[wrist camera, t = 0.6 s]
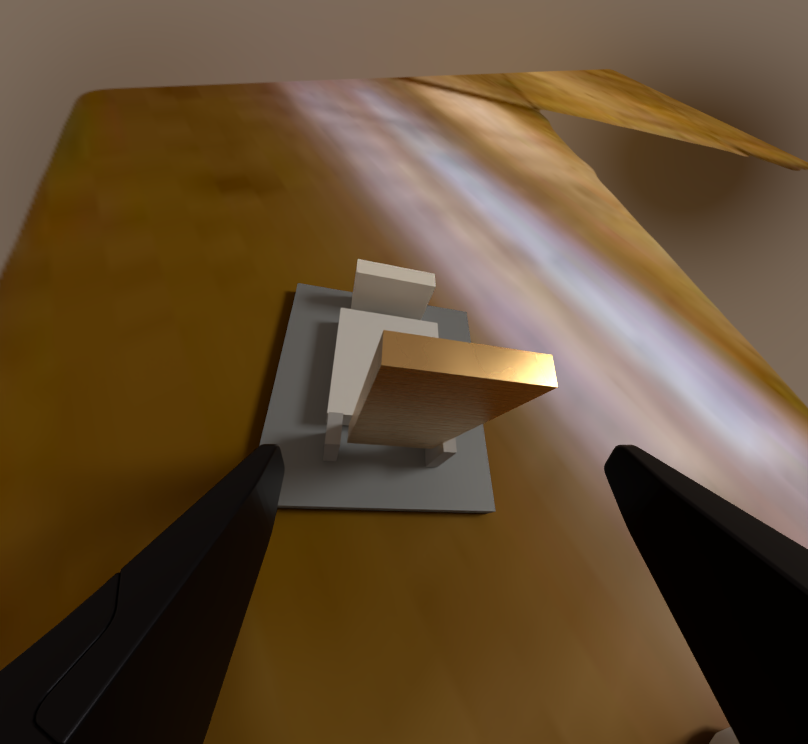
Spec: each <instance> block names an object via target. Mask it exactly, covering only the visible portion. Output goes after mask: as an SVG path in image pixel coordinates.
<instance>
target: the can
mask: <svg viewBox="0 0 808 744" xmlns="http://www.w3.org/2000/svg"><path fill="white" fill-rule="evenodd" d="M709 744H739V742H738V740H737V738H736V736H735V734H734V732H733V730H732V728H731V727H729V728H727V729H724V730H722V731H719V732H717V733H716V734H715V735H714V737H713V738H712V740H711V741H710V743H709Z"/></svg>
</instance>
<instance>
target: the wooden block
mask: <svg viewBox="0 0 808 744" xmlns="http://www.w3.org/2000/svg"><path fill="white" fill-rule="evenodd" d="M557 387H558V385H557V380H556V374H555V369H554V363H553V358H552V355H548V354H542V353H535V352H528V351H522V350H515V349H508V348H502V347H495V346H488V345H482V344H475V343H468V342H462V341H455V340H448V339H442V338H435V337H428V336H422V335H415V334H408V333H401V332H395V331H388V330H383V333H382V335H381V338H380V341H379V344H378V346H377V349H376V352H375V355H374V357H373V360H372V363H371V365H370V368H369V371H368V374H367V376H366V379H365V382H364V385H363V387H362V390H361V393H360V396H359V398H358V401H357V404H356V407H355V409H354V412H353V415H352V418H351V420H350V423H349V427H348V438H347V443H356V444H370V445H384V446H399V447H413V448H427V449H432V448H434V447H437V446H439V445H441V444H443V443H445V442H447V441H449V440H451V439H453V438H455V437H457V436H459V435H461V434H463V433H465V432H467V431H469V430H471V429H473V428H475V427H477V426H479V425H481V424H484V423H486V422H488V421H490V420H492V419H494V418H496V417H498V416H500V415H502V414H504V413H506V412H508V411H510V410H512V409H514V408H516V407H518V406H520V405H522V404H524V403H526V402H528V401H531V400H533V399H535V398H537V397H539V396H541V395H543V394H545V393H547V392H549V391H551V390H553V389H555V388H557Z"/></svg>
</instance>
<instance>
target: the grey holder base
mask: <svg viewBox="0 0 808 744" xmlns="http://www.w3.org/2000/svg"><path fill="white" fill-rule="evenodd" d="M435 287H436V284H435V274H432V273H427V272H422V271H417V270H412V269H407V268H402V267H397V266H391V265H386V264H381V263H376V262H371V261H366V260H361V259H358V261H357V268H356V275H355V282H354V288H353V292H347V291H341V290H335V289H329V288H323V287H318V286H312V285H306V284H300V283H298V285H297V289H296V294H295V298H294V302H293V306H292V310H291V315H290V319H289V323H288V327H287V332H286V336H285V340H284V344H283V348H282V353H281V357H280V361H279V365H278V369H277V374H276V378H275V382H274V386H273V391H272V395H271V399H270V403H269V407H268V412H267V416H266V420H265V424H264V429H263V433H262V437H261V441H260V445H262V444H278V445H279V446H280V449H281V453H282V457H283V461H284V465H285V472H284V478H283V483H282V487H281V492H280V497H279V502H278V506H277V508H301V509H341V510H380V511H419V512H458V513H491V512H495V505H494V498H493V491H492V484H491V477H490V470H489V464H488V457H487V450H486V443H485V436H484V429H483V424H481V425H479V426H477V427H475V428H473V429H471V430H469V431H467V432H465V433H463V434H461V435H459V436H457V437H455V438H453V439H451V440H449V441H447V442H445V443H443V444H441V445H439V446H437V447H434V448H432V449H427V448H413V447H399V446H384V445H370V444H356V443H347V438H348V427H349V423H350V420H351V418H352V415H353V412H354V409H355V407H356V404H357V401H358V398H359V396H360V393H361V390H362V387H363V385H364V382H365V379H366V376H367V374H368V371H369V368H370V365H371V363H372V360H373V357H374V355H375V352H376V349H377V346H378V344H379V341H380V338H381V335H382V333H383V330H388V331H395V332H401V333H408V334H415V335H422V336H428V337H435V338H442V339H448V340H455V341H462V342H468V343H471V340H470V333H469V326H468V319H467V312H463V311H457V310H452V309H446V308H440V307H434V306H428V303H429V301H430V298H431V296H432V294H433V292H434V289H435ZM260 445H259V446H260Z"/></svg>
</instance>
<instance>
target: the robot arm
mask: <svg viewBox="0 0 808 744" xmlns="http://www.w3.org/2000/svg"><path fill="white" fill-rule="evenodd" d="M604 471H605V475H606V477H607V480H608V482H609V484H610V487H611V489H612V492H613V494H614V497H615V499H616V502H617V504H618V507H619V509H620V511H621V514H622V516H623V519H624V521H625V523H626V526H627V528H628V530H629V532H630V534H631V536H632V538H633V540H634V542H635V544H636V546H637V548H638V550H639V552H640V553H641V555H642V557H643V559H644V561H645V563H646V565H647V567H648V569H649V571H650V573H651V575H652V577H653V578H654V580H655V582H656V584H657V586H658V588H659V590H660V592H661V594H662V596H663V598H664V600H665V602H666V603H667V605H668V607H669V609H670V611H671V613H672V615H673V617H674V619H675V621H676V623H677V625H678V626H679V628H680V630H681V632H682V634H683V636H684V638H685V640H686V642H687V644H688V646H689V648H690V650H691V651H692V653H693V655H694V657H695V659H696V661H697V663H698V665H699V667H700V669H701V671H702V673H703V675H704V676H705V678H706V680H707V682H708V684H709V686H710V688H711V690H712V692H713V694H714V696H715V698H716V700H717V701H718V703H719V705H720V707H721V709H722V711H723V713H724V715H725V717H726V719H727V721H728V723H729V725H730V726H731V728H732V730H733V732H734V734H735V736H736V738H737V740H738V742H739V744H808V549H806V548H805V547H803V546H801V545H800V544H798V543H796V542H795V541H793V540H791V539H790V538H788V537H786V536H785V535H783V534H781V533H780V532H778V531H776V530H775V529H773V528H771V527H770V526H768V525H766V524H765V523H763V522H761V521H760V520H758V519H756V518H755V517H753V516H751V515H750V514H748V513H746V512H745V511H743V510H741V509H740V508H738V507H736V506H735V505H733V504H731V503H730V502H728V501H726V500H725V499H723V498H721V497H720V496H718V495H717V494H715V493H713V492H712V491H710V490H708V489H707V488H705V487H703V486H702V485H700V484H698V483H697V482H695V481H693V480H692V479H690V478H688V477H687V476H685V475H683V474H682V473H680V472H678V471H677V470H675V469H673V468H672V467H670V466H668V465H667V464H665V463H663V462H662V461H660V460H658V459H657V458H655V457H653V456H652V455H650V454H648V453H647V452H645V451H643V450H642V449H640V448H638V447H637V446H634V445H618V446H616V447H615V448H614V450H613V451H612V453H611V455H610V456H609V458H608V460H607V461H606V463H605V466H604ZM284 472H285V465H284V461H283V457H282V453H281V449H280V446H279V445H278V444H262V445H260V446H259V447H258V448H257V449H255V450H254V451H253V452H252V453H251V454H250V455H249V456H248V457H246V458H245V459H244V460H243V461H242V462H241V463H240V464H239V465H237V466H236V467H235V468H234V469H233V470H232V471H231V472H230V473H228V474H227V475H226V476H225V477H224V478H223V479H222V480H221V481H220V482H218V483H217V484H216V485H215V486H214V487H213V488H212V489H211V490H209V491H208V492H207V493H206V494H205V495H204V496H203V497H202V498H200V499H199V500H198V501H197V502H196V503H195V504H194V505H193V506H191V507H190V508H189V509H188V510H187V511H186V512H185V513H184V514H182V515H181V516H180V517H179V518H178V519H177V520H176V521H175V522H174V523H172V524H171V525H170V526H169V527H168V528H167V529H166V530H165V531H163V532H162V533H161V534H160V535H159V536H158V537H157V538H156V539H154V540H153V541H152V542H151V543H150V544H149V545H148V546H147V547H145V548H144V549H143V550H142V551H141V552H140V553H139V554H138V555H136V556H135V557H134V558H133V559H132V560H131V561H130V562H129V563H128V564H126V565H125V566H124V567H123V568H122V569H121V572H120V573H116V574H115V575H114V576H113V577H112V578H110V579H109V580H108V581H107V582H106V583H105V584H104V585H103V586H102V587H100V588H99V589H98V590H97V591H96V592H95V593H94V594H92V595H91V596H90V597H89V598H88V599H87V600H85V601H84V602H83V603H82V604H81V605H80V606H79V607H77V608H76V609H75V610H74V611H73V612H72V613H70V614H69V615H68V616H67V617H66V618H65V619H64V620H62V621H61V622H60V623H59V624H58V625H56V626H55V627H54V628H53V629H51V630H50V631H49V632H48V633H47V634H45V635H44V636H43V637H42V638H40V639H39V640H38V641H37V642H36V643H34V644H33V645H32V646H31V647H29V648H28V649H27V650H26V651H25V652H23V653H22V654H21V655H20V656H18V657H17V658H16V659H15V660H13V661H12V662H11V663H10V664H8V665H7V666H6V667H5V668H3V669H2V670H1V671H0V744H203V742H204V739H205V736H206V733H207V730H208V727H209V724H210V721H211V717H212V714H213V711H214V708H215V705H216V702H217V699H218V696H219V693H220V690H221V687H222V684H223V681H224V678H225V675H226V672H227V669H228V666H229V662H230V659H231V656H232V653H233V650H234V647H235V644H236V641H237V638H238V635H239V632H240V629H241V626H242V623H243V620H244V617H245V614H246V611H247V608H248V604H249V601H250V598H251V595H252V592H253V589H254V586H255V583H256V580H257V577H258V574H259V571H260V568H261V565H262V562H263V559H264V556H265V553H266V549H267V546H268V543H269V540H270V537H271V533H272V529H273V525H274V521H275V516H276V511H277V506H278V502H279V497H280V492H281V487H282V483H283V478H284Z"/></svg>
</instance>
